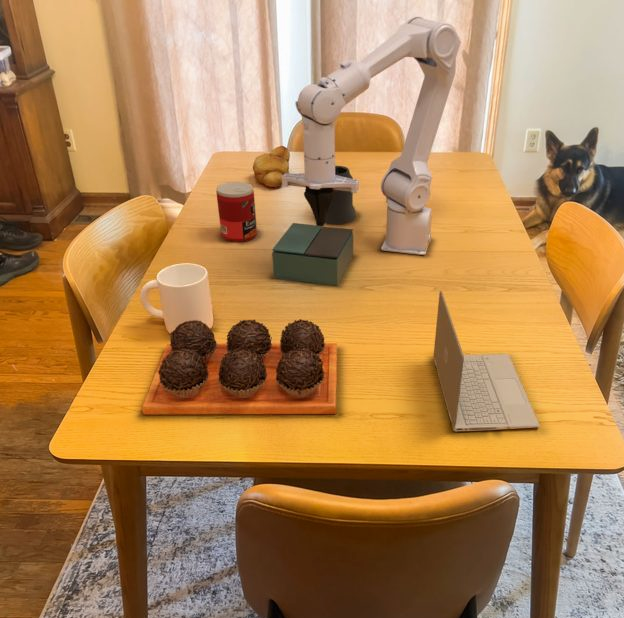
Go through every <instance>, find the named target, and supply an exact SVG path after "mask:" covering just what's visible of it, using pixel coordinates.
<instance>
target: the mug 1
mask: <svg viewBox="0 0 624 618" xmlns="http://www.w3.org/2000/svg"><path fill="white" fill-rule="evenodd" d="M152 290H158V293H159V299H160V305H161V309H157V308H155V307H154V306H153V305H152V304H151V302H150V298H149V294H150V292H151V291H152ZM139 299H140V303H141V306H142V307H143V309H144V310H145V311H146V312H147V313H148V314H149V315H151V316H152V317H153V318H157V319H163V321H164V326H165V329H166V331H167V332H168V333H169V334H170V333H171V332H172V331H174V330H175V329H176V327H177V326H178V325H179V324H182V323H184V322H186V321H193V320H198V321H201V322H203V323H204V324H206V325H207V326H208V327H209V329H210V328H211V329H212V327H213V326H214V311H213V306H212V304H213V303H212V297H211V290H210V283H209V273H208V270H207V268H205V267H204V266H202V265H200V264H198V263H197V264H196V263H186V262H185V263H177V264H172V265H169V266H166V267H165V268H163V269H161V270H160V271H159V272H158V273H157V274H156V279H152V280H149V281H147V282H146V283H145V284H144V285H143V286H142V288H141V290H140V298H139Z"/></svg>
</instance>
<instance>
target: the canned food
mask: <svg viewBox="0 0 624 618" xmlns="http://www.w3.org/2000/svg"><path fill="white" fill-rule="evenodd" d="M215 189H216V190H215V191H216V192H215V193H216V201H217V211H218V220H219V226H220V227H219V228H220V235H221V236H222V238H223V239H224V240H226V241H229V242H231V243H244V242H249V241H251V240H253V239H254V238H255V237H256V236H257V232H258V228H257V214H256V201H255V190H254V187H253V185H252V183H251V184H250V183H248V182H244V181H228V182H224V183H221V184H219V185H217V186H216V188H215Z"/></svg>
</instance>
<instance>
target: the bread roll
mask: <svg viewBox="0 0 624 618" xmlns="http://www.w3.org/2000/svg"><path fill="white" fill-rule="evenodd" d="M290 157H291V154H290V150H289V149H288V147H286V146H284V145H279V146H276V147H274V148H273V149H272V150H270V151H269V153H263V154H259V155H258V156H257V157H255V159H254V161H253V163H252V171H253V173H254V174H253V175H254V177H255V179H256V181H257V182H258V183H260V184H264V185H265V186H266V187H270V188H277V187H279V186H282V176H283V175H284V174H285V173H288V174H290V170H289V169H290Z"/></svg>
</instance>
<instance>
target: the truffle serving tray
mask: <svg viewBox="0 0 624 618" xmlns="http://www.w3.org/2000/svg"><path fill="white" fill-rule="evenodd" d="M269 331H270V329H269V328H268V327H267V326H266V325H264V323H262V322H259V321H256V319H243V320H239V322H237V323H236V324H235V325H234V324H233V325H232V327H230V329H229V331H227V335H226V337H227V338H226V343H217V340H216V338H215V334H214V332H213V331H212V328H210V329H209V327H208V326H207V325H206V324H204V323H203V322H201V321H198V320H193V321H186V322H184V323H182V324H179V325H178V326H177V327H176V329H175V330H174V331H172V332H171V333H169V335H170V339H169V341H170V343H166V345H165V347H164V350H163V353H162V355H161V358H160V360H159V363H158V365H157V367H156V370H155V373H154V376H153V377H152V381H151V383H150V386H149V389H148V391H147V394H146V396H145V399H144V401H143V404H142V407H141V411H142V415H146V416H147V415H148V416H149V415H150V416H151V415H158V416H159V415H336V414H337V392H338V391H337V389H338V388H337V387H338V385H337V384H338V383H337V382H338V379H337V377H338V372H337V371H338V344H337V342H334V343H333V342H332V343H331V342H326V343H325V335H324V334H323V332H322V329H321V328H320V325H317V323H315V324H314V323H313V321H309V320H308V319H307V320H304V319H302V318H300V319H297V320H294V321H293V322H288V323H287V325H285V326H284V329H282V330H281V335H280V339H279V343H277V342H276V343H275V342H274V343H272V339H273V337H272V336H271V334H270V332H269Z"/></svg>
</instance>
